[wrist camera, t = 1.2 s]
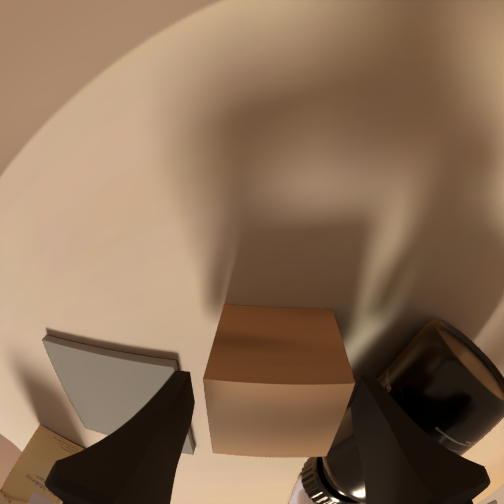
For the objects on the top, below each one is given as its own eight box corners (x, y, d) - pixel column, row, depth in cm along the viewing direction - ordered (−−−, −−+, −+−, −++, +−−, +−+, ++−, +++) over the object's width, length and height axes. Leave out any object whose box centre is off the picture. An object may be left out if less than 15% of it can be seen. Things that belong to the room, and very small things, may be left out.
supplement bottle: (409, 302, 12) (271, 446, 15) (504, 414, 6) (304, 537, 10) (459, 325, 14) (344, 440, 18) (523, 398, 9) (378, 509, 12)
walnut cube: (316, 382, 15) (326, 456, 10) (226, 379, 15) (212, 452, 11) (331, 307, 13) (355, 383, 9) (224, 303, 14) (203, 378, 9)
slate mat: (194, 448, 18) (193, 454, 18) (88, 423, 19) (85, 427, 18) (176, 360, 15) (173, 367, 14) (46, 334, 15) (41, 339, 15)
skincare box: (85, 447, 21) (44, 535, 9) (93, 464, 22) (60, 544, 11) (38, 422, 21) (-8, 499, 9) (49, 442, 22) (10, 513, 11)
